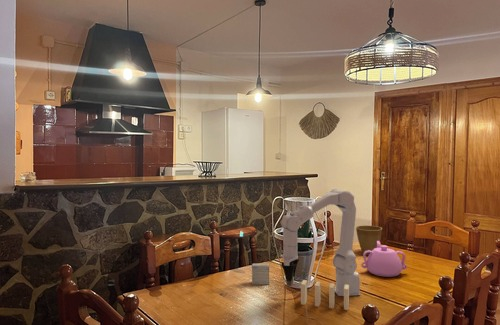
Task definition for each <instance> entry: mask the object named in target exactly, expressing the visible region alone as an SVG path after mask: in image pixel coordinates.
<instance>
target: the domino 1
mask: <svg viewBox="0 0 500 325" xmlns="http://www.w3.org/2000/svg"><path fill="white" fill-rule="evenodd" d="M291 263H292V264H293V262H291ZM293 283H294V277H292V281H286V286H293Z"/></svg>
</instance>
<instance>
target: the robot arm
mask: <svg viewBox="0 0 500 325" xmlns="http://www.w3.org/2000/svg"><path fill="white" fill-rule="evenodd" d="M330 205H331V206H332V205H334V206H336V207H337V208H338V209H339V210H340V211H341V212H342V214H341V223H340V224H341V226H340V234H339V245H338V248H337V249H336V250H335V252H334V256H333V258H332V265H333V266H334V268H335V293H336V295H337V296H339V297H344V286H345V285H349V297H352V296H361V292H360V289H361V287H360V283H361V281H360V275H359V273H358V271H356V270H357V267H358V264H357V260H356V258H357V256H356V254H355V253H354V251H353V246H354V234H355V227H356V226H355V225H356V214H357V208H356V204H355V196H354V194H352V193H351V192H350V191H348V190H341V189H332V190H330V191H328V192H326V193H325V195H323V196H322V197H321V198H320V197H319V199H317V200H316V201H314V202H313V203H311V204H309V205H301V206H299V209H297V210H295V211H291V212H290V214H286V215H283V217H282V219H281V221H280V226H281V227H282V230H283V232H282V233H283V235H282V236H283V238H282V240H283V243H282V245H283V246H282V248H283V252H282V253H283V254H280V255H279V256H280V257H279V258H282V259H283V262H281V264H280V265H281V266H280V267H282V270H283V272H284V277H285V282H287V281H292V277H293V278H294V277H295V275H296V270H297V266H298V264H299V261H300V258H299V256H298V230H299V229H300V227H301V225H303V224H304V223H306V222H307V221H309V220H310V219H312V218H313V217H314V213H316V212H319V211H320V210H322V209H324V208H326V207H328V206H330ZM291 262H293V264H292V263H291Z"/></svg>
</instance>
